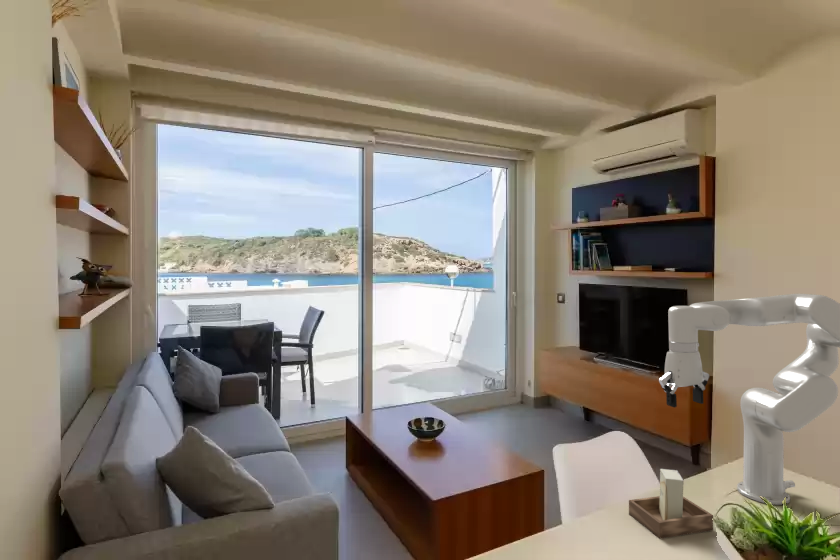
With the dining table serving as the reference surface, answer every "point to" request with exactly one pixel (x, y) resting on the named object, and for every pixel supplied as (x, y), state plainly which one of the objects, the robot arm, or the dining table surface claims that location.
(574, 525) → the dining table surface
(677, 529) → the box
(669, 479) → the skincare box
